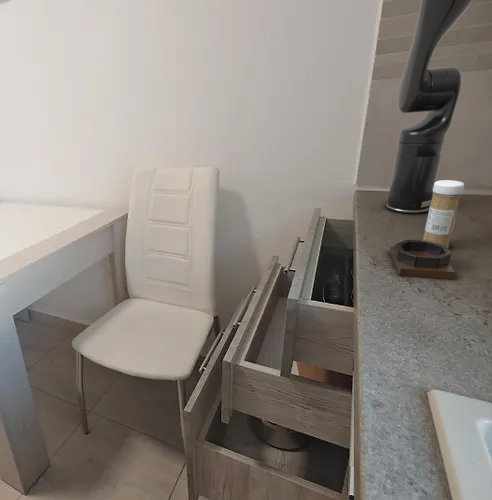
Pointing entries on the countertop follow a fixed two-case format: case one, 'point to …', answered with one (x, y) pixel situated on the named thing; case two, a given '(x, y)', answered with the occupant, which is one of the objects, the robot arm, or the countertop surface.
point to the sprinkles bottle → (443, 211)
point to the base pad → (422, 259)
